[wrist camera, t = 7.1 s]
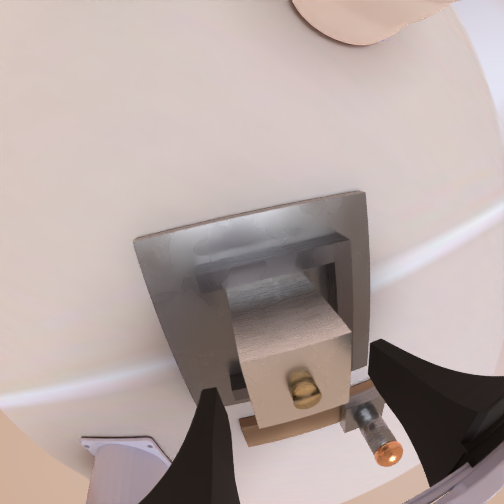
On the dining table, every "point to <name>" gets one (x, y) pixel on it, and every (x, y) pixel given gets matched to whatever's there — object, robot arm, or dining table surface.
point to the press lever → (371, 425)
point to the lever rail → (295, 423)
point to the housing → (290, 350)
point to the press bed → (254, 279)
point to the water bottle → (365, 17)
